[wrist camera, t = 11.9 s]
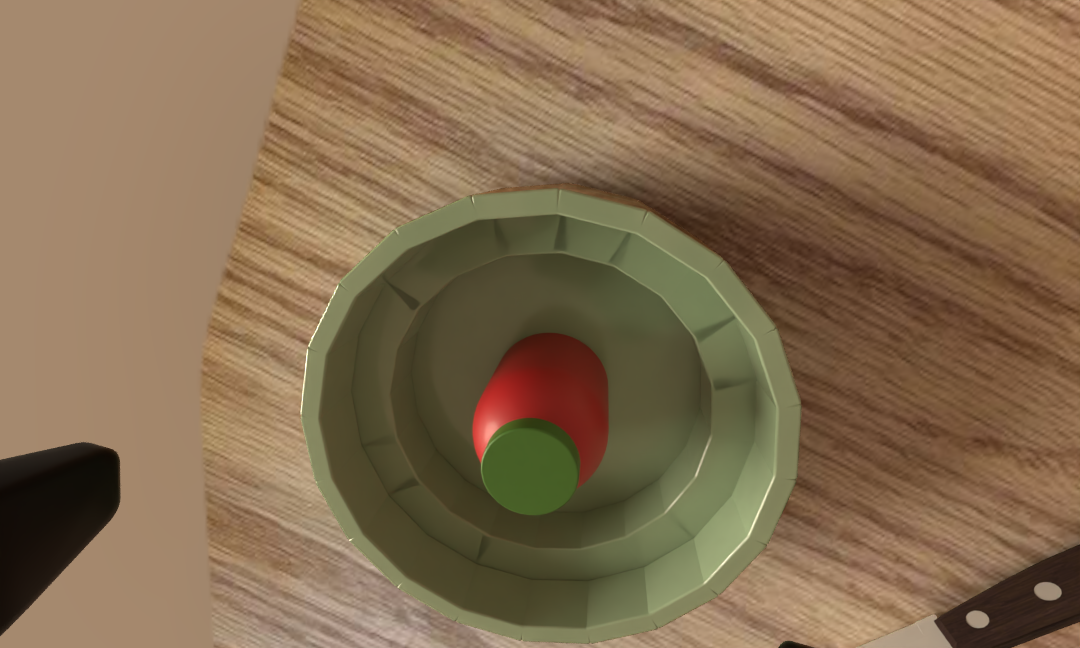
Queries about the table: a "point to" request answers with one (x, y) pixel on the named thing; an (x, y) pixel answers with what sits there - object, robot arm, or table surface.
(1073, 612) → the kitchen knife
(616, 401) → the serving bowl
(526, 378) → the sriracha sauce bottle
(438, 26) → the table surface
